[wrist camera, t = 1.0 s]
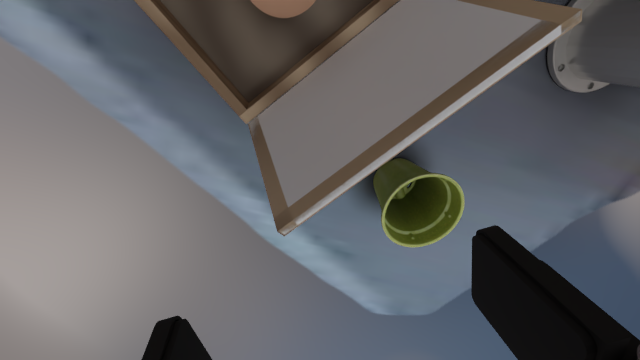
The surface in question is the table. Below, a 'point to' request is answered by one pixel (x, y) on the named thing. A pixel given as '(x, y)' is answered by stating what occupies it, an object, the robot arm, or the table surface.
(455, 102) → the lid
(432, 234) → the plant pot
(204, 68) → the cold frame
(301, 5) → the tan rounded knob
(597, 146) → the table surface
